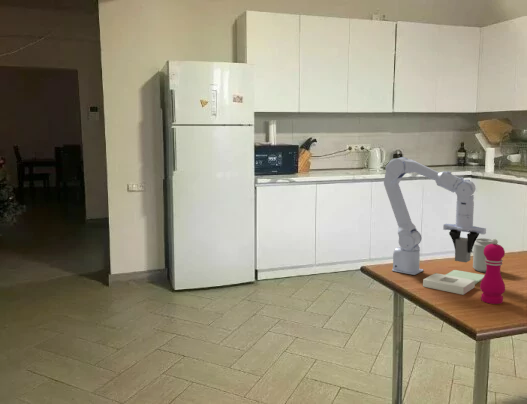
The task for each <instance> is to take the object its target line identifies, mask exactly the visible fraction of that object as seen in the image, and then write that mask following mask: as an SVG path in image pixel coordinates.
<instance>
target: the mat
mask: <svg viewBox="0 0 527 404" xmlns="http://www.w3.org/2000/svg"><path fill="white" fill-rule="evenodd" d="M445 275H449V276H454V277H459V278H465V279H470V280H475V285H477V284H478V283H479V282H480V283H481V281H482V279H483V277H484V275H485V274H480V273H475V272H469V271H465V270H464V271H463V270H457V269H453V270H451V271H449V272H448V273H445Z"/></svg>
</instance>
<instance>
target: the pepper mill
mask: <svg viewBox="0 0 527 404" xmlns="http://www.w3.org/2000/svg"><path fill="white" fill-rule="evenodd" d="M491 240H492V241H491V242H492V244H489V245H487V246H486V247H485V248H484V255H485V257H486V259H485V263H486V267H487V268H486V272H484V274H483V275H484V277H483V279H482V280H481V281H480V284H479V289H480V291H481V292H482V293H481V295H480V299H481V301H482V302H483V303H487V304H491V305H499V304H502V303H503V302H504V295H503V294H504V292H506V284H505V282H504V279H503V278H502V277H503V276H502V274H501V266H503V258H504V257H505V254H506V253H505V252H506V251H505V249H504V247H503V245H500V244H498V243H499V241H498V240H497V239H496V238H495V239H491Z"/></svg>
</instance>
